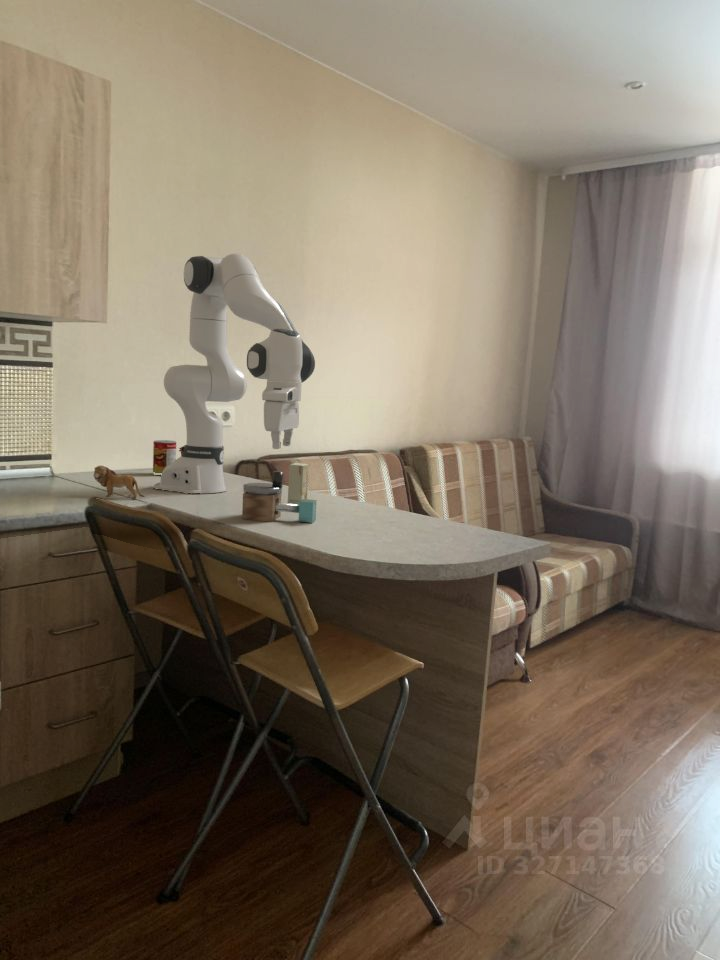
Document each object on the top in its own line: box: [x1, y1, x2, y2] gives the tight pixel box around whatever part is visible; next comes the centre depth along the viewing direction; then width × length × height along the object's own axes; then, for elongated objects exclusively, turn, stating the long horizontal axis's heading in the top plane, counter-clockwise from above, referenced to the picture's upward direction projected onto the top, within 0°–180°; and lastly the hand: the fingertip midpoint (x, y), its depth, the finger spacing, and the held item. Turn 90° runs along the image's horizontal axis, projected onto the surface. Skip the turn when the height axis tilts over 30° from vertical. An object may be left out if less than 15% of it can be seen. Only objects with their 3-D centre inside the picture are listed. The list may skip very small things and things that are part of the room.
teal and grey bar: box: [275, 498, 317, 523], centre depth 190 cm, size 19×4×5 cm, turn 80°
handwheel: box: [242, 470, 284, 495], centre depth 190 cm, size 10×10×6 cm
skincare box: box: [287, 462, 310, 505], centre depth 211 cm, size 6×4×12 cm
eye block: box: [241, 492, 282, 522], centre depth 190 cm, size 8×8×7 cm
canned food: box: [152, 439, 177, 473], centre depth 258 cm, size 8×8×12 cm
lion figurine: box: [93, 465, 145, 500], centre depth 209 cm, size 15×5×9 cm, turn 90°
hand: (281, 447), depth 187 cm, fingers open, 8 cm apart
